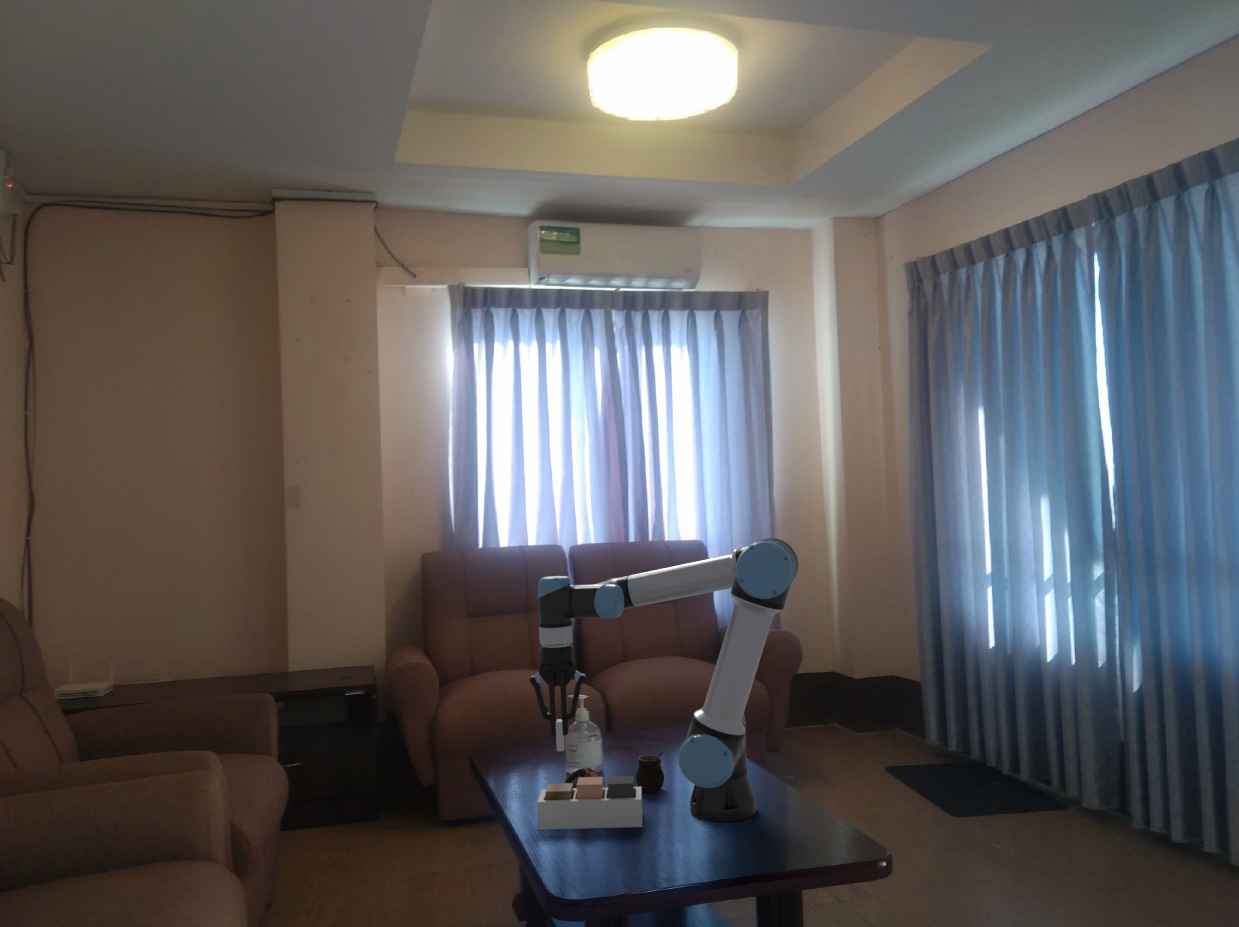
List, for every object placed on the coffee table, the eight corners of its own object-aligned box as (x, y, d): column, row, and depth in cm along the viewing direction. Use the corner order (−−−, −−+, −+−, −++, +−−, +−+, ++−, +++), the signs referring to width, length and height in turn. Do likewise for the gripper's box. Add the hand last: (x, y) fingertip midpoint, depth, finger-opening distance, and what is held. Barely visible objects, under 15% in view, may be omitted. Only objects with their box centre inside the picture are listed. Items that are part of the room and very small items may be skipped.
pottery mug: (608, 806, 217) (591, 779, 215) (574, 823, 218) (556, 796, 217) (611, 778, 228) (594, 752, 227) (578, 794, 230) (562, 768, 228)
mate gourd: (640, 784, 231) (639, 744, 231) (669, 787, 228) (668, 746, 229) (631, 793, 224) (630, 752, 224) (661, 796, 222) (660, 754, 222)
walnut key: (573, 805, 209) (572, 783, 209) (571, 813, 203) (570, 791, 203) (549, 806, 209) (548, 783, 209) (546, 814, 203) (545, 791, 203)
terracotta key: (603, 798, 208) (602, 776, 209) (602, 807, 203) (601, 784, 203) (579, 799, 209) (578, 777, 209) (577, 807, 203) (576, 785, 203)
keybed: (642, 812, 210) (641, 786, 210) (642, 826, 201) (641, 799, 201) (542, 815, 210) (542, 789, 211) (538, 829, 201) (537, 802, 202)
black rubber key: (634, 797, 208) (633, 775, 208) (633, 806, 203) (633, 783, 203) (609, 798, 208) (609, 776, 209) (608, 806, 203) (607, 784, 203)
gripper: (586, 641, 211) (590, 744, 210) (529, 643, 211) (534, 746, 210) (583, 646, 204) (588, 753, 202) (525, 648, 204) (529, 755, 203)
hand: (560, 749), depth 206 cm, fingers closed
